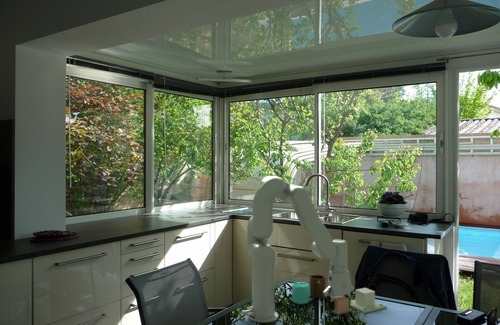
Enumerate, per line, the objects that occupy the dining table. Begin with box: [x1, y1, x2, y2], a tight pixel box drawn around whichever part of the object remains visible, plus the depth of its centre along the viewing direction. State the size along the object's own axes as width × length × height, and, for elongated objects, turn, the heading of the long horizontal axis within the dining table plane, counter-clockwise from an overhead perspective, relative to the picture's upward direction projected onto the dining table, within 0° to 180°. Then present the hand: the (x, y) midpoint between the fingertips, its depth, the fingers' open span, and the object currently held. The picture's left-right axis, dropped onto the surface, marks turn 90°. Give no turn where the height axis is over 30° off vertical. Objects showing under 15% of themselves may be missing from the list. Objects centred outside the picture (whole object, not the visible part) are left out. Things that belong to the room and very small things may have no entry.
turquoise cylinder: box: [291, 281, 311, 305], centre depth 188 cm, size 8×8×8 cm
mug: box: [309, 274, 327, 299], centre depth 193 cm, size 12×8×9 cm, turn 178°
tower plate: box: [349, 287, 387, 314], centre depth 181 cm, size 13×13×7 cm
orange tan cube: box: [328, 295, 350, 315], centre depth 176 cm, size 6×6×6 cm
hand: (339, 307), depth 176 cm, fingers open, 8 cm apart
